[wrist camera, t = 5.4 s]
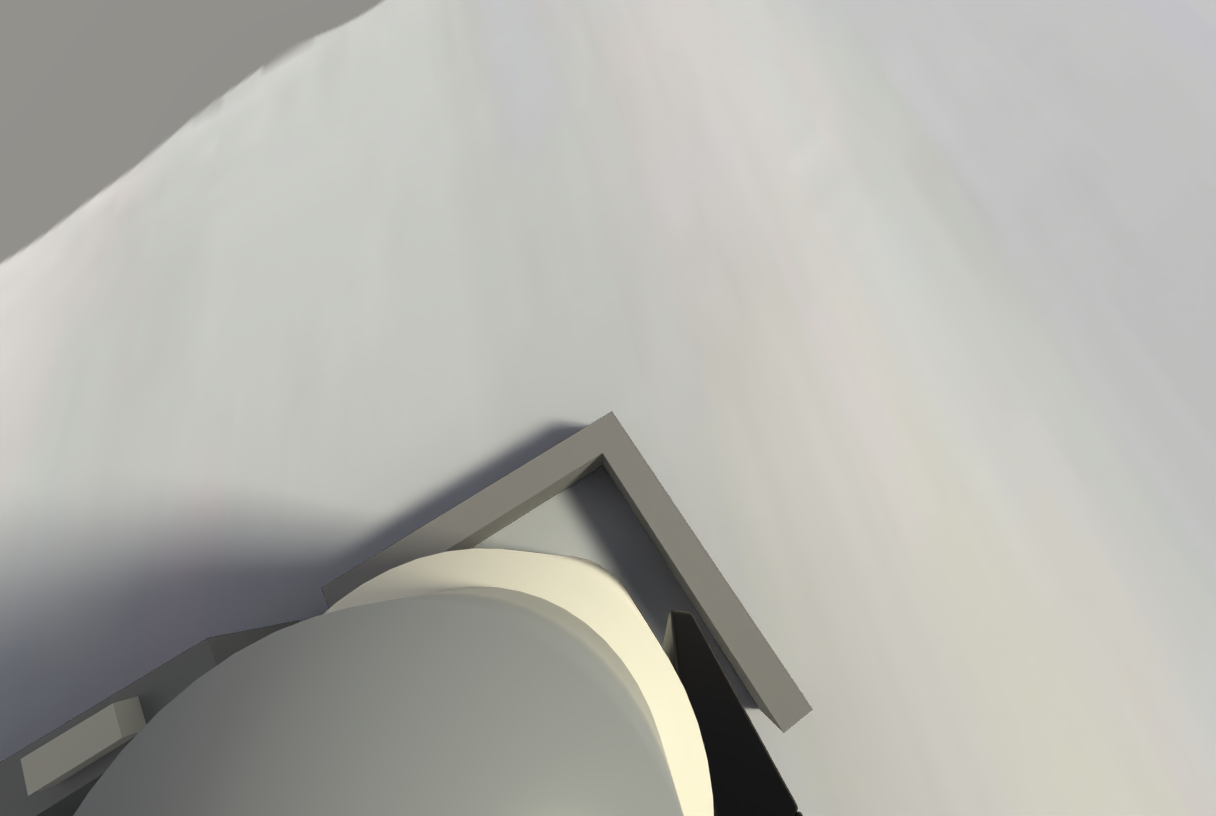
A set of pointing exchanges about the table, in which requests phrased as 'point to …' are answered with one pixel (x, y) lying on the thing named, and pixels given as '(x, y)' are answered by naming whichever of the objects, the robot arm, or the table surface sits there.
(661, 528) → the grey u-shaped rail
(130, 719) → the dock
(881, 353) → the table surface
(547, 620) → the plug
